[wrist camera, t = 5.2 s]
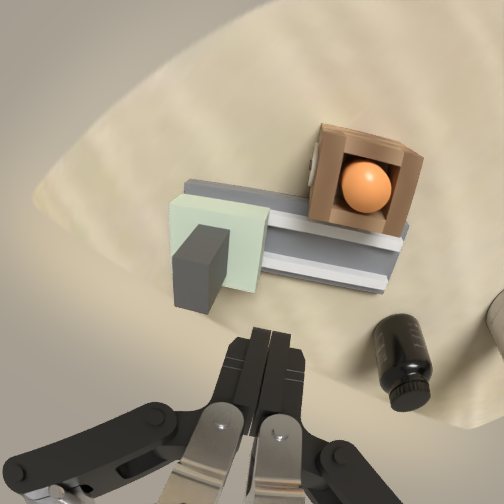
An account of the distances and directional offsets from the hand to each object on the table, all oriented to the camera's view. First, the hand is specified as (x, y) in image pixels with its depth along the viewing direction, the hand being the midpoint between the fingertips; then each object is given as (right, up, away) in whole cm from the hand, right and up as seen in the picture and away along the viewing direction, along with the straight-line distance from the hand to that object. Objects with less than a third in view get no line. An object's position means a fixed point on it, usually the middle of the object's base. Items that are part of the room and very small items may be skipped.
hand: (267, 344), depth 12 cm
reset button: (+9, +10, +13) cm, 19 cm away
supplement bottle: (+19, -7, +25) cm, 33 cm away
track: (+4, +6, +21) cm, 22 cm away
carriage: (-4, +5, +19) cm, 20 cm away
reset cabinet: (+10, +12, +16) cm, 23 cm away
